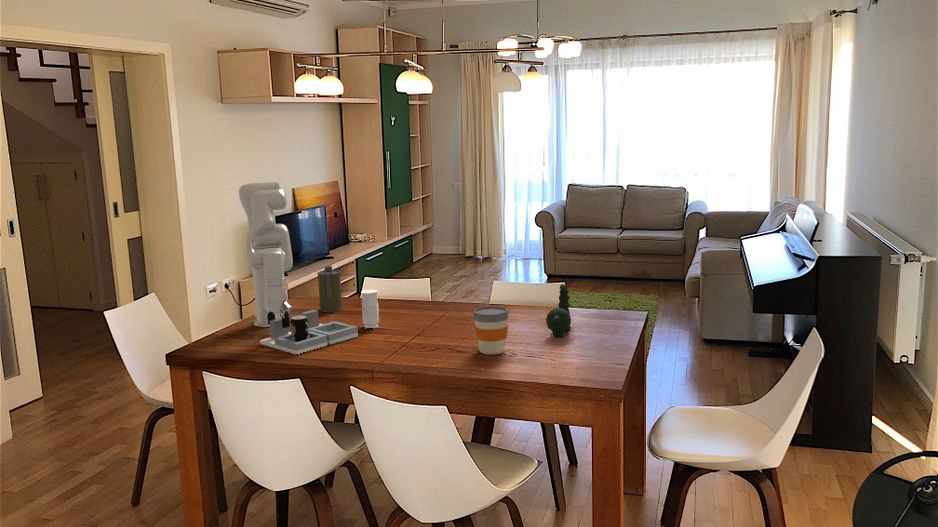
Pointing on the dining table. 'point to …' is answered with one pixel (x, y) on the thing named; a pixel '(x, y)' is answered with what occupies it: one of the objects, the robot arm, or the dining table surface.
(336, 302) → the canister
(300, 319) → the beverage can
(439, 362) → the dining table surface
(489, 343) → the reusable coffee cup
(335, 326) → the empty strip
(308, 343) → the grey tray
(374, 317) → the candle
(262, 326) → the robot arm
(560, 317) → the toy figurine
